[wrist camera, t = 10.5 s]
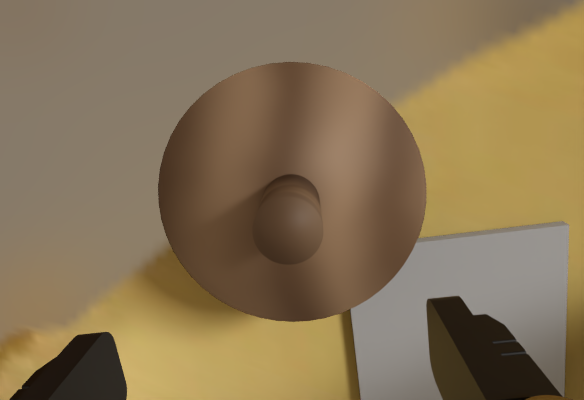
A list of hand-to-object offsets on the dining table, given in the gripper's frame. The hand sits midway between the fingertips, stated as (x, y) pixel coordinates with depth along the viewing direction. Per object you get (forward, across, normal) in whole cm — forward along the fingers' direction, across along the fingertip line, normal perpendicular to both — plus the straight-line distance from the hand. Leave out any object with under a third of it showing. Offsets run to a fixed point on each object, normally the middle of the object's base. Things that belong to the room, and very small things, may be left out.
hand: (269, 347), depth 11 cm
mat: (+21, -11, +14) cm, 28 cm away
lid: (+15, 0, 0) cm, 15 cm away
